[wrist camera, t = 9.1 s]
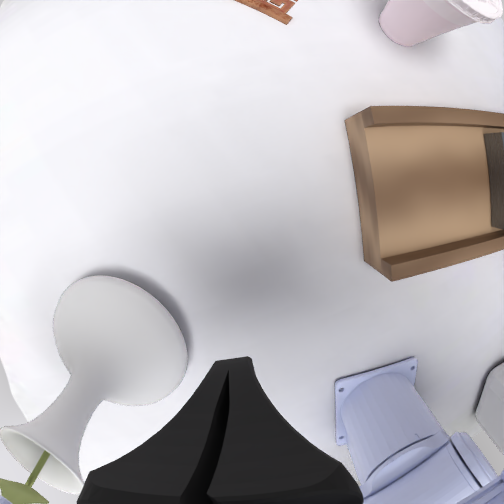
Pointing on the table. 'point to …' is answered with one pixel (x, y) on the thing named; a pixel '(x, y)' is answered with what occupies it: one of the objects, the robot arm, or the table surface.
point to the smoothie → (433, 17)
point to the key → (271, 8)
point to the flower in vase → (96, 376)
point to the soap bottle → (493, 407)
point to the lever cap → (496, 176)
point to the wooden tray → (423, 186)
